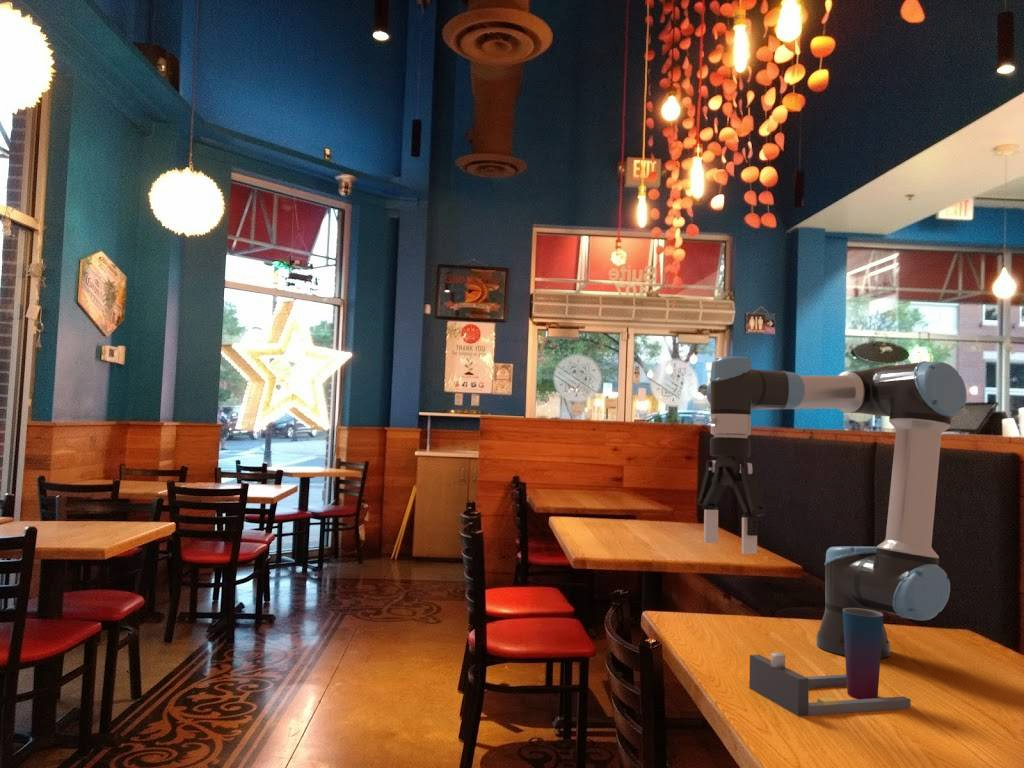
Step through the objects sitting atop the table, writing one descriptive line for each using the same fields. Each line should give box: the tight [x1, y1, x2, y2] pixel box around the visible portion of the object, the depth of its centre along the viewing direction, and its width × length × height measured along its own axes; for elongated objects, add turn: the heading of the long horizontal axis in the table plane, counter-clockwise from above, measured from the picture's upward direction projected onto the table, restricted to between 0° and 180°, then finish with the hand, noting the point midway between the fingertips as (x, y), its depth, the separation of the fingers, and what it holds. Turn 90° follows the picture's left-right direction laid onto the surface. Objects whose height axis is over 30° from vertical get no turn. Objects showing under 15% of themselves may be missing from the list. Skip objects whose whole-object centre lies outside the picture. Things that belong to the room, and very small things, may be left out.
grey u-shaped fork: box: [749, 652, 912, 717], centre depth 133 cm, size 23×14×8 cm, turn 106°
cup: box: [843, 608, 884, 699], centre depth 135 cm, size 7×7×15 cm
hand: (729, 547), depth 141 cm, fingers open, 13 cm apart
